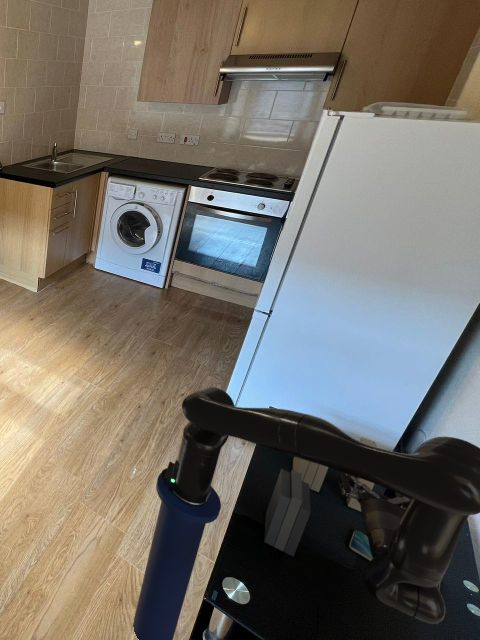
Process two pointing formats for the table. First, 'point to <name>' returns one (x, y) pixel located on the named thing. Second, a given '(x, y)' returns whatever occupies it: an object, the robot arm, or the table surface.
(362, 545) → the smartphone
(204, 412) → the robot arm
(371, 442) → the beige thin block
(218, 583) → the table surface
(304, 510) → the grey books
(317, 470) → the beige books
